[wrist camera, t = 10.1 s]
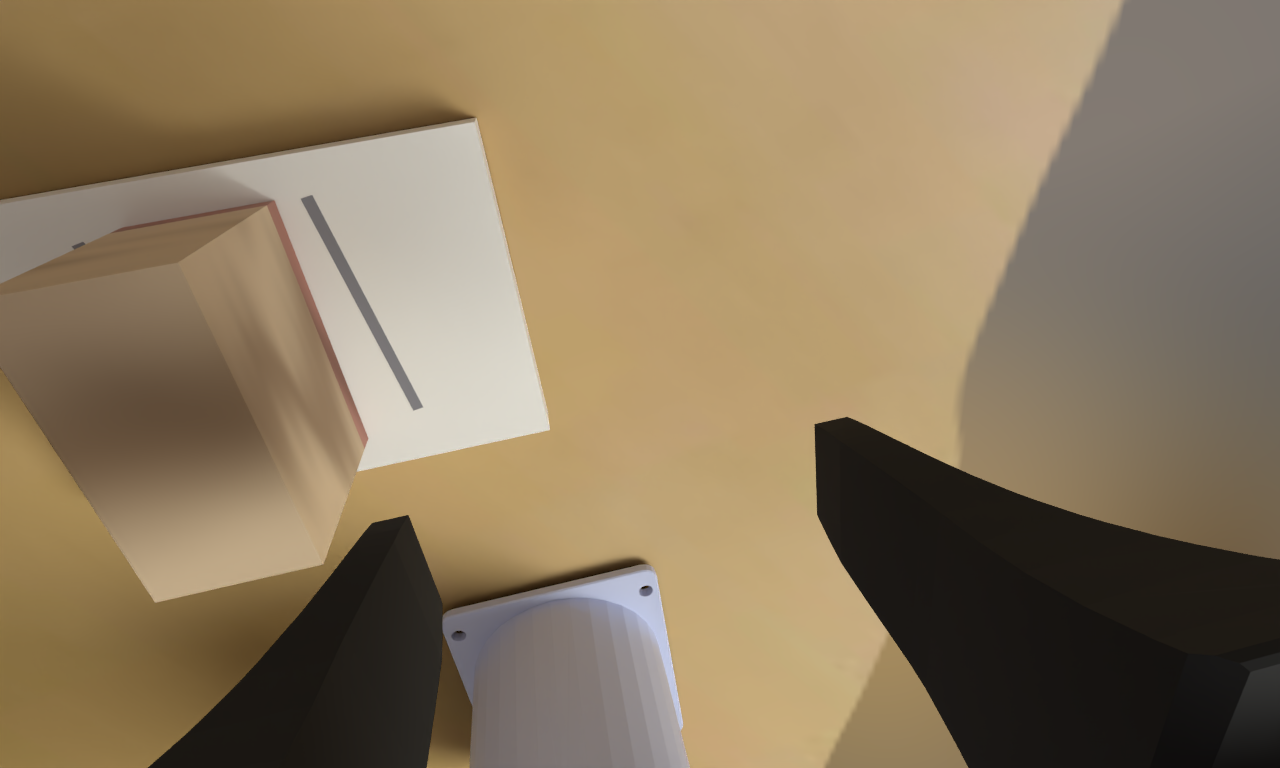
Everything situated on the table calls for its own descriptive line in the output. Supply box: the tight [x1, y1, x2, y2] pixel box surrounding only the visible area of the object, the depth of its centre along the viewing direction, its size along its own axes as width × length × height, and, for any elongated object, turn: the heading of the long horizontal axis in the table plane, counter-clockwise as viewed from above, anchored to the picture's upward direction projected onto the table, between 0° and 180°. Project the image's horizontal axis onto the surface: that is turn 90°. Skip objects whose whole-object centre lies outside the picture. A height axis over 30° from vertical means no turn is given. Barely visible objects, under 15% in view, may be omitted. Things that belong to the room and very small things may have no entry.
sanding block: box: [0, 200, 368, 603], centre depth 16 cm, size 7×4×6 cm, turn 8°
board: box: [0, 118, 550, 472], centre depth 19 cm, size 9×13×1 cm
